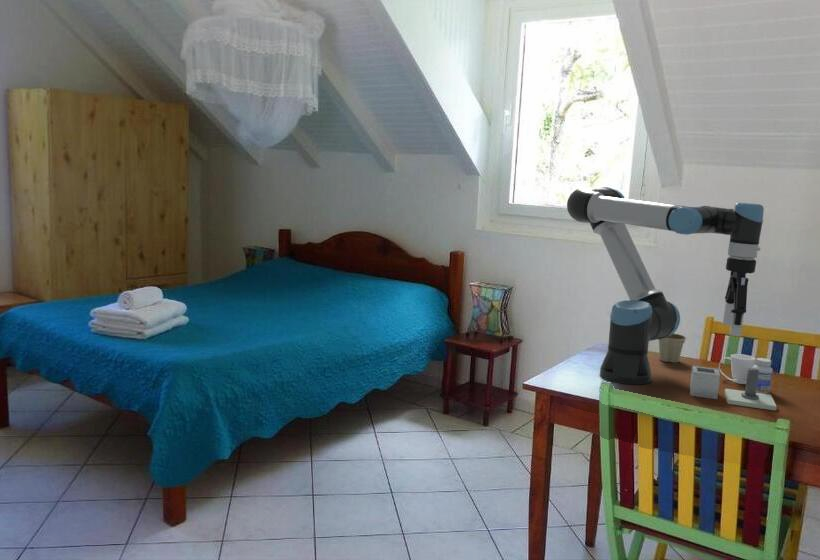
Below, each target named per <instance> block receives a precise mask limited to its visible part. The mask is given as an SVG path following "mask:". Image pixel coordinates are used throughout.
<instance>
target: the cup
mask: <svg viewBox="0 0 820 560" xmlns="http://www.w3.org/2000/svg"><path fill="white" fill-rule="evenodd" d="M756 359H757V358H755V357H754V356H753V355H748V354H742V353H734V354H733V353H732V354H730V357H729V356H725V357H723V358H721V359H720V361H719V363H718V370H719V373H720V375H722V376H723V377H725V378H726V379H727V380H729V381H731V382H733V383H736V384H738V385H739V384H740V385H746V379H747V371H748V368H752V367H753V366H754V365H755V364H756ZM724 360H729V361H730V365H731V366H730V370H731V377H732V378H730V377H728V376H727V375H726V374H725V373H724V372H723V371H722V370H721V364H722V362H723V361H724Z"/></svg>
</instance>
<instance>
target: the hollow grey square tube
mask: <svg viewBox="0 0 820 560" xmlns="http://www.w3.org/2000/svg"><path fill="white" fill-rule="evenodd" d="M720 380H721V372H720V371H719V368H713V367H705V366H696V365H692V367H691V374H690V383H689V384H690V385H689V394H690V396H692V397H700V398H706V399H713V400H718V396H719V388H720V387H719V386H720Z"/></svg>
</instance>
